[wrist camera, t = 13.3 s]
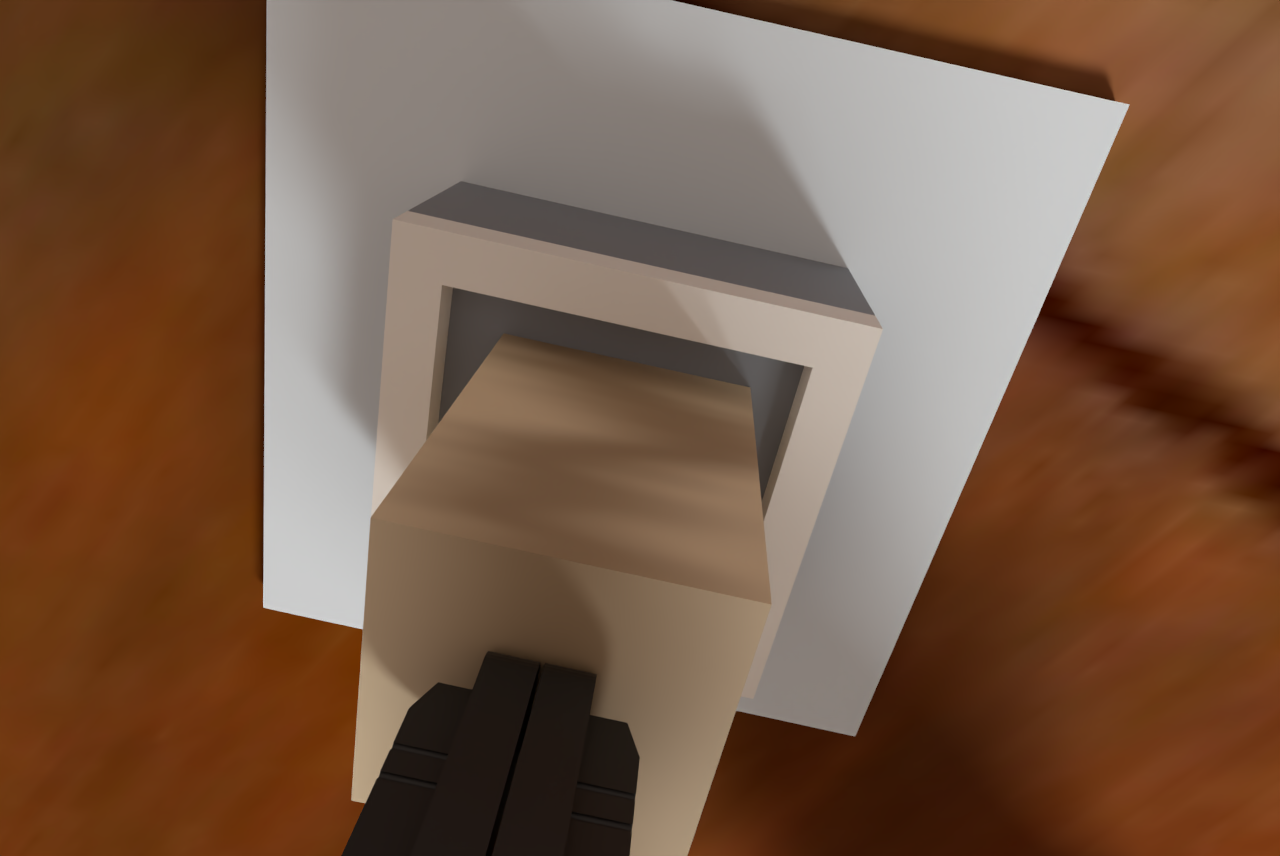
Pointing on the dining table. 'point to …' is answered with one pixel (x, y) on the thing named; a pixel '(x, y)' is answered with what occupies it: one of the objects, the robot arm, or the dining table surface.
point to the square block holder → (658, 273)
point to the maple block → (578, 561)
